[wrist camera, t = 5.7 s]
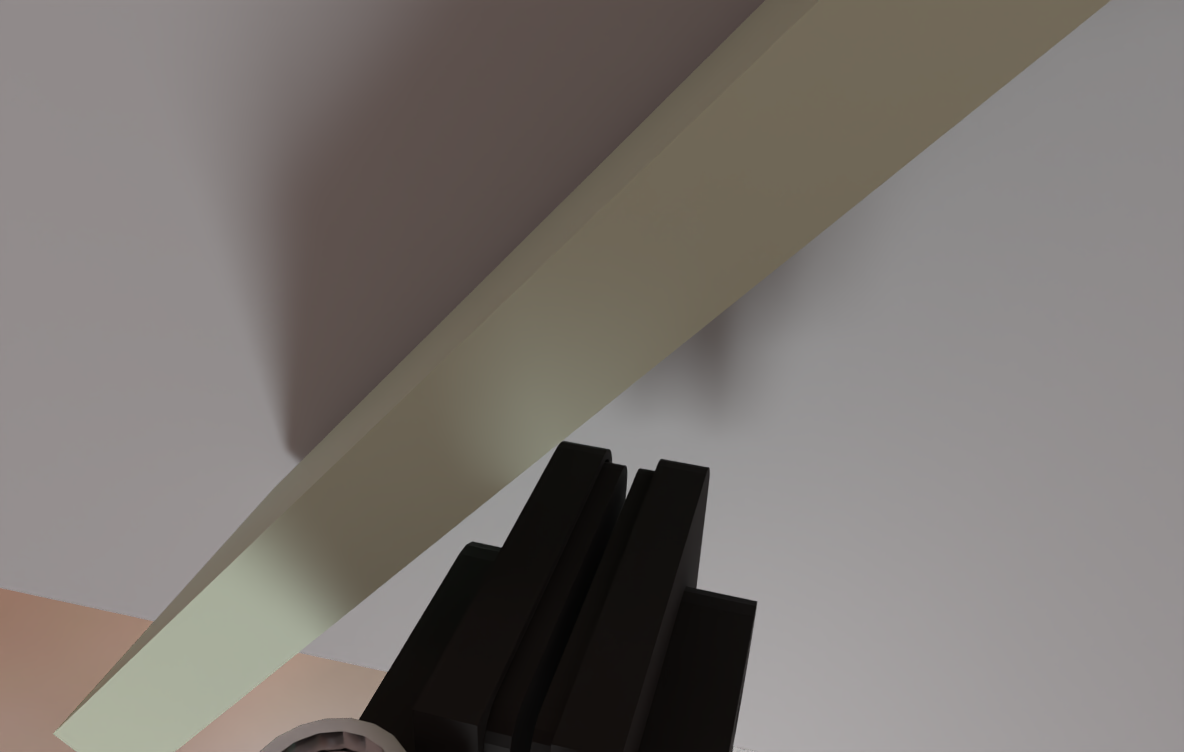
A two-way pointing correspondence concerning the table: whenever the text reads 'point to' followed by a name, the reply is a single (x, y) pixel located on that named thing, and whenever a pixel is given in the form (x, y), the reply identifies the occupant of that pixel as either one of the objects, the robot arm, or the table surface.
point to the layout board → (664, 394)
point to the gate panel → (574, 324)
